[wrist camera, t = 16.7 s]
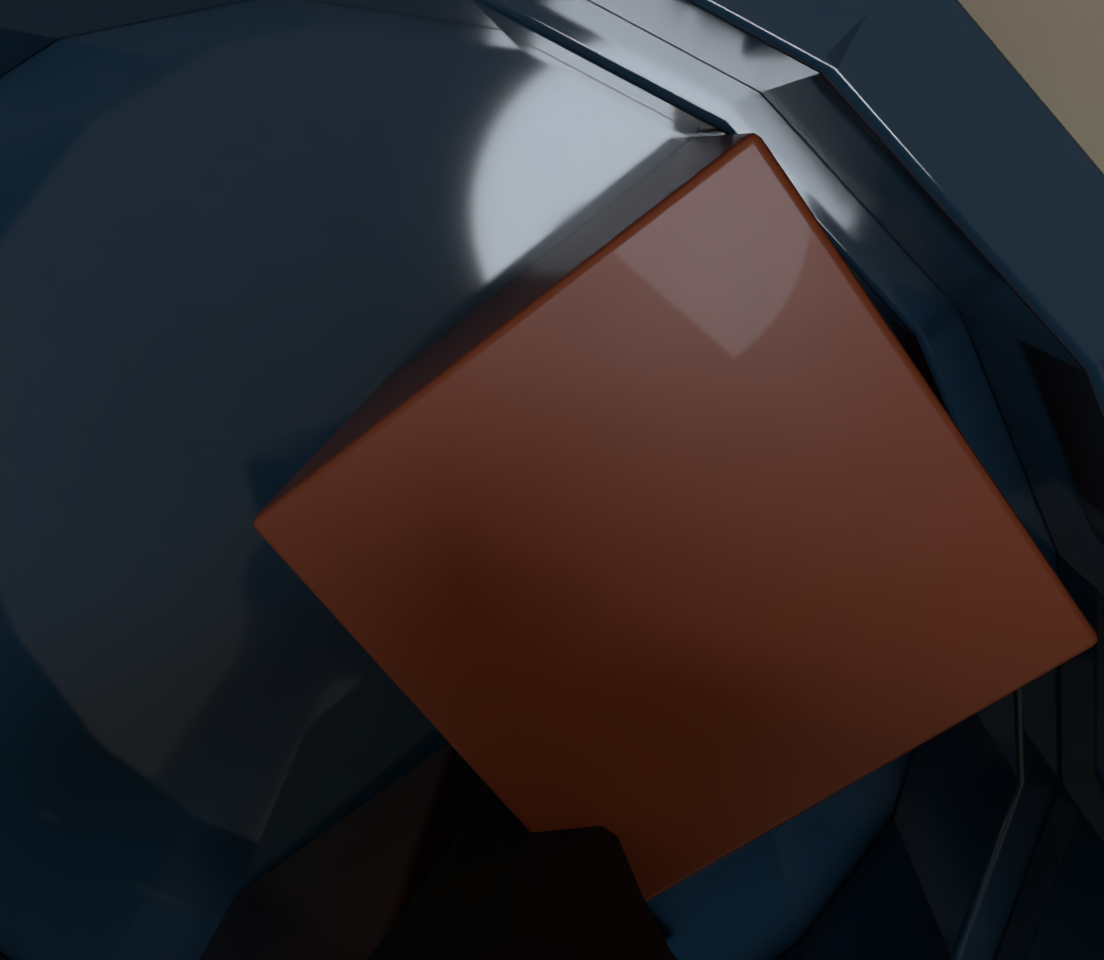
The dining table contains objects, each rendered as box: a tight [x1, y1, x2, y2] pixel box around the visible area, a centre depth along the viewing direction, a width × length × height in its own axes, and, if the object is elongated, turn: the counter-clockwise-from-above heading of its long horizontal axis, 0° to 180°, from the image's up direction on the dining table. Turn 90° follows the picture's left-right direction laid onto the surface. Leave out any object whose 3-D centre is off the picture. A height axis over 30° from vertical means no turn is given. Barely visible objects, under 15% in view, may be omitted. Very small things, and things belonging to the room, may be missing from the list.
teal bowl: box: [0, 0, 1104, 960], centre depth 10 cm, size 15×15×5 cm
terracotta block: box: [253, 133, 1098, 902], centre depth 8 cm, size 4×4×4 cm
